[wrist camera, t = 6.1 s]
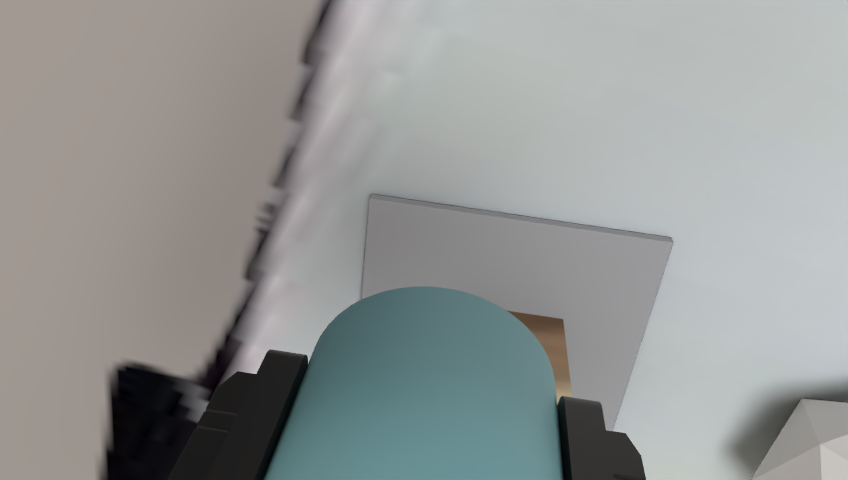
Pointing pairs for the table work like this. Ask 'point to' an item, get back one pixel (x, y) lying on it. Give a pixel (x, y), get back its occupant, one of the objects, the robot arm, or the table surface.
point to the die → (810, 444)
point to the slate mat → (529, 277)
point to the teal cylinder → (423, 395)
